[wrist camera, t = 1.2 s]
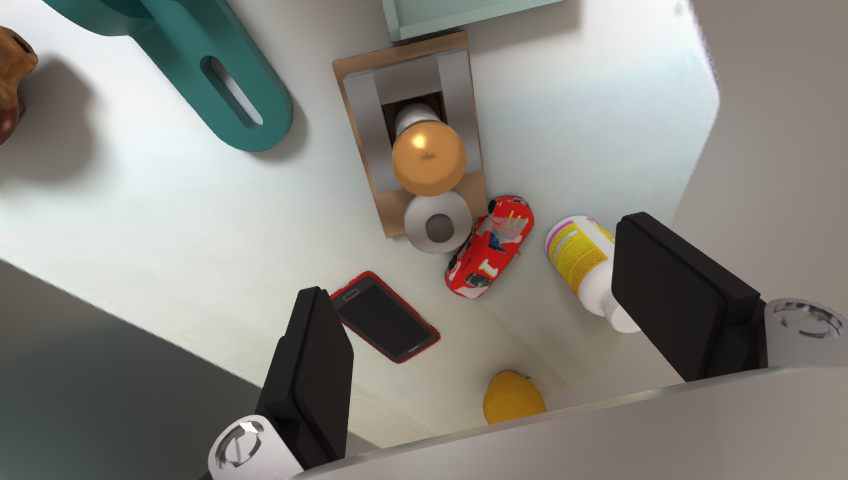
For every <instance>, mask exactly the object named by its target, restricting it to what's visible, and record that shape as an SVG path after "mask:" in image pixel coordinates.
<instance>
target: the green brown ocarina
mask: <svg viewBox="0 0 848 480" xmlns="http://www.w3.org/2000/svg"><path fill="white" fill-rule="evenodd" d="M37 64H38V58H37V55H36V54H35V52H34V51H33V49H32V47H31V46H30V45H29V44H28V43H27V42H26V41H25V40H24V39H23V38H22V37H21V36H19V35H18V34H17V33H16V32H14V31H13V30H11V29H8V28H5V27H3V26H0V145H1V144H3V143H4V142H5V141H6V140H7V139H8V138H9V136H10V135H11V134H12V132H13V131H14V130H15V127H16V126H17V124H18V123H19V122H20V120H21V118H22V116H23V115H24V113H25V111H26V107H25V103H24V102H23V101H22V100H21V98H19V97H18V96H17V86H18V84H19V82H20V81H21V80H22V79H23V78H24V77H25V76H26V75H28V74H29V73H30V72H31V71H32V70H33V69H34V68H35V67H36V66H37Z"/></svg>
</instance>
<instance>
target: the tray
mask: <svg viewBox="0 0 848 480" xmlns="http://www.w3.org/2000/svg"><path fill="white" fill-rule="evenodd" d="M381 1H382V5H383V10H384V14H385V18H386V23H387V27H388V32H389V36H390V41H391V42H395V41H399V40H403V39H407V38H411V37H415V36H419V35H423V34H427V33H431V32H436V31H440V30H444V29H448V28H452V27H456V26H460V25H464V24H468V23H473V22H477V21H481V20H485V19H489V18H493V17H497V16H501V15H505V14H509V13H514V12H518V11H522V10H526V9H530V8H534V7H538V6H542V5H546V4H551V3H555V2H559V1H563V0H381Z"/></svg>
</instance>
